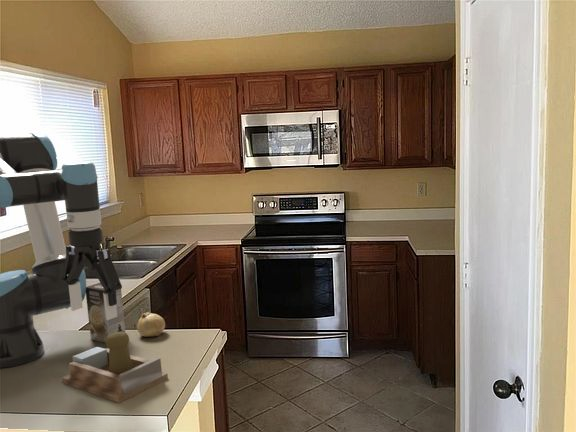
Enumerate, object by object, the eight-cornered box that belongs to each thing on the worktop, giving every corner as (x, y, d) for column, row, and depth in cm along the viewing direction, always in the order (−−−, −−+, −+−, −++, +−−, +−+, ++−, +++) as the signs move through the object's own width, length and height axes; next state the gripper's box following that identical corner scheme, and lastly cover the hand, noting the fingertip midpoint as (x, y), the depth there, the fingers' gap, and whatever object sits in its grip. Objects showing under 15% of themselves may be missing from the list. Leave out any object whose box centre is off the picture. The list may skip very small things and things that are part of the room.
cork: (127, 383, 126) (122, 338, 125) (103, 383, 127) (98, 338, 126) (139, 372, 132) (134, 328, 130) (116, 372, 133) (111, 328, 132)
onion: (156, 328, 168) (154, 306, 167) (171, 333, 162) (169, 310, 161) (133, 336, 162) (130, 313, 161) (147, 342, 157) (145, 318, 156)
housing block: (74, 371, 135) (72, 356, 134) (98, 361, 140) (97, 346, 140) (84, 374, 132) (82, 359, 132) (108, 364, 138) (106, 349, 138)
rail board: (62, 382, 132) (59, 360, 131) (110, 361, 143) (108, 341, 143) (119, 402, 119) (116, 378, 119) (167, 378, 131) (165, 355, 130)
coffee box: (89, 339, 162) (83, 286, 159) (107, 332, 167) (101, 281, 165) (109, 344, 156) (103, 290, 154) (127, 337, 162) (121, 284, 159)
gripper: (40, 226, 133) (50, 309, 137) (104, 235, 119) (113, 327, 123) (67, 221, 140) (76, 301, 143) (132, 228, 125) (140, 317, 129)
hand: (93, 313), depth 133 cm, fingers open, 13 cm apart
